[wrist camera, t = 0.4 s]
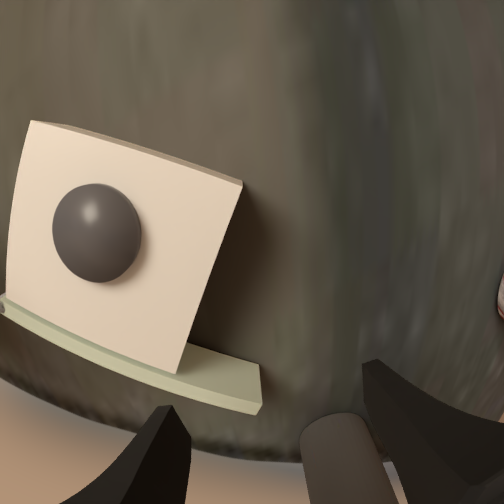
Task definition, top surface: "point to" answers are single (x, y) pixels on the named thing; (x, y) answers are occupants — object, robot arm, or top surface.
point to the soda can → (501, 298)
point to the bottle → (343, 463)
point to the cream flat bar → (182, 383)
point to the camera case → (114, 239)
